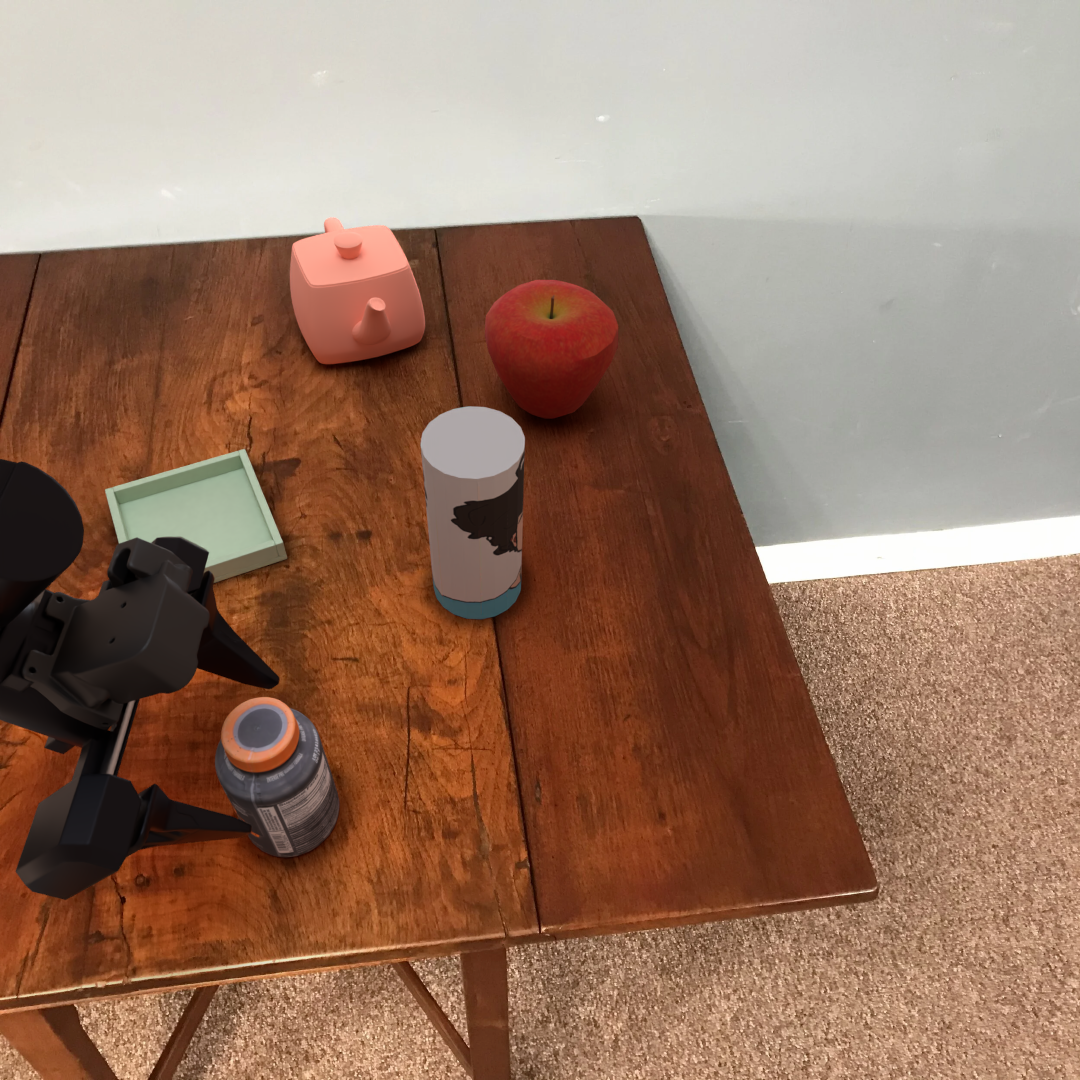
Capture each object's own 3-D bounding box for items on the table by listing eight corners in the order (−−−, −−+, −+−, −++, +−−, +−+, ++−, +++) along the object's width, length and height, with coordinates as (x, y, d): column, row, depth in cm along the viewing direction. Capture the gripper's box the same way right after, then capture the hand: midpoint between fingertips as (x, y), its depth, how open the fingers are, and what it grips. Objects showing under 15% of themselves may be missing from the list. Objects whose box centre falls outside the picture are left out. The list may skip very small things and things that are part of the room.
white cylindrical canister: (535, 601, 71) (542, 460, 59) (452, 631, 69) (443, 491, 57) (500, 539, 75) (500, 395, 63) (420, 565, 73) (405, 422, 61)
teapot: (393, 275, 98) (384, 181, 90) (450, 382, 87) (444, 286, 79) (283, 298, 94) (263, 203, 86) (328, 411, 84) (310, 314, 76)
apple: (632, 402, 86) (647, 290, 77) (558, 465, 80) (565, 353, 71) (538, 351, 90) (542, 240, 81) (463, 408, 85) (457, 295, 75)
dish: (139, 607, 69) (131, 591, 68) (112, 506, 76) (104, 489, 74) (287, 558, 73) (283, 542, 71) (249, 465, 79) (244, 448, 78)
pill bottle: (238, 787, 61) (194, 696, 52) (329, 759, 62) (301, 666, 53) (254, 873, 57) (209, 791, 48) (350, 841, 58) (323, 756, 50)
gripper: (-20, 771, 34) (327, 879, 43) (118, 423, 46) (368, 563, 55) (-128, 856, 40) (198, 936, 49) (19, 527, 52) (260, 639, 61)
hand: (262, 753), depth 53 cm, fingers open, 9 cm apart
